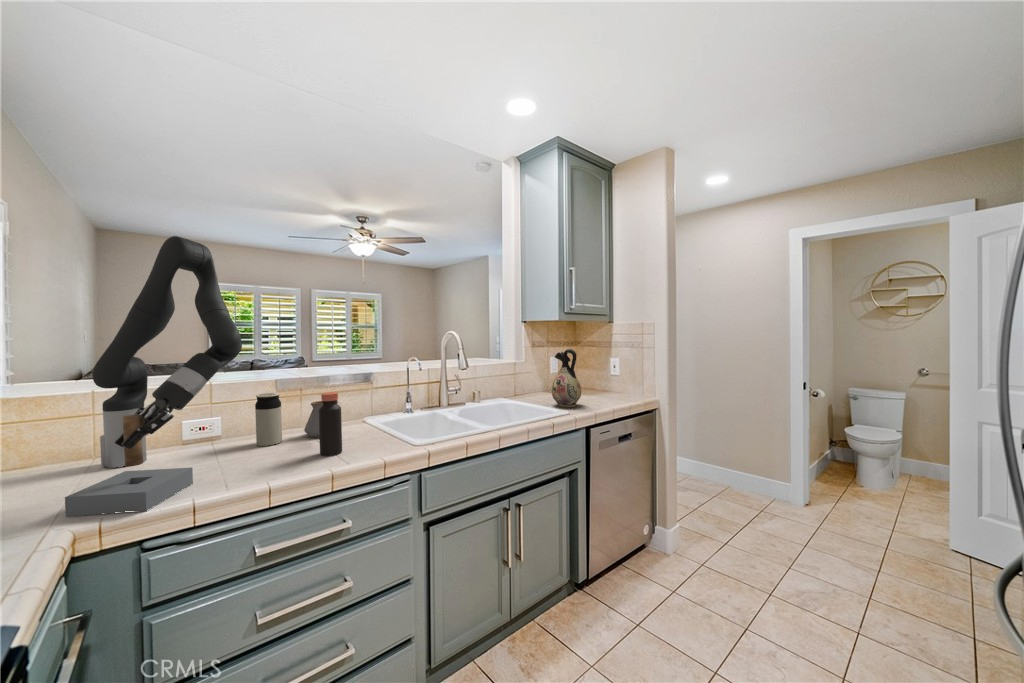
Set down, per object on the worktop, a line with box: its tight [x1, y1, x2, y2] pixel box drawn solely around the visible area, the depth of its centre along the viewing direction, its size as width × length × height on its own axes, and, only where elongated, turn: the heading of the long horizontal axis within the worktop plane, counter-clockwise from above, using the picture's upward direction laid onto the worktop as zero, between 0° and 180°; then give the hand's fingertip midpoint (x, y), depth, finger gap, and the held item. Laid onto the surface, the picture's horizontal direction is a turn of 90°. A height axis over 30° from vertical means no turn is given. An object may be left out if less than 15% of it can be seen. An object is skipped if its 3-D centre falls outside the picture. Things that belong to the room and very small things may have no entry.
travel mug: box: [254, 392, 283, 447], centre depth 142 cm, size 8×8×18 cm
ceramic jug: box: [551, 348, 582, 408], centre depth 203 cm, size 17×15×30 cm
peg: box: [123, 414, 144, 468], centre depth 95 cm, size 3×3×12 cm
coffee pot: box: [303, 400, 340, 438], centre depth 149 cm, size 21×12×15 cm, turn 48°
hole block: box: [64, 466, 194, 518], centre depth 96 cm, size 16×16×4 cm
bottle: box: [318, 391, 343, 457], centre depth 130 cm, size 7×7×20 cm
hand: (122, 445), depth 94 cm, fingers closed on peg, 3 cm apart
